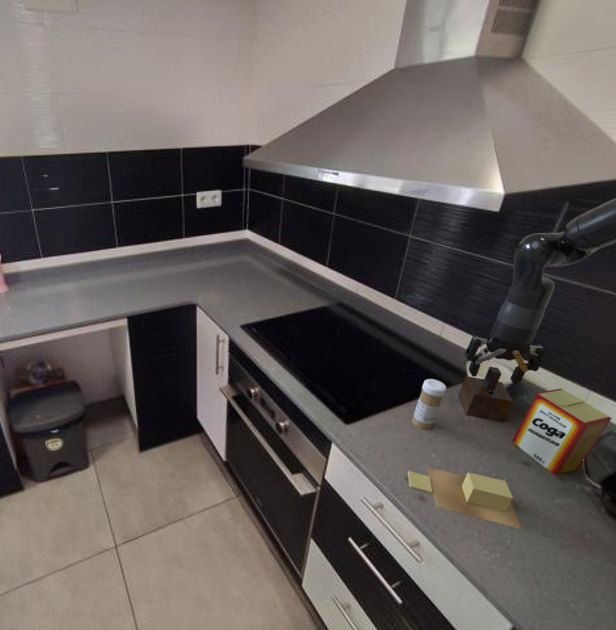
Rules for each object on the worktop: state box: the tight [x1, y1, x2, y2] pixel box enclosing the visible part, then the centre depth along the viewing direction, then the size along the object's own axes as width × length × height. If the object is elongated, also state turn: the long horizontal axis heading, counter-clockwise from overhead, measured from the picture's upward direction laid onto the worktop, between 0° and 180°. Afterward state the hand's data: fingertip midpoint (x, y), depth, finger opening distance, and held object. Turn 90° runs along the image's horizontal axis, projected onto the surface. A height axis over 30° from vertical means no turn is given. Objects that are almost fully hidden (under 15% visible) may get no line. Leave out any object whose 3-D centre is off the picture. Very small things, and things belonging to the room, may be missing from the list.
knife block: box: [457, 375, 514, 423], centre depth 97 cm, size 8×8×8 cm
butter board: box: [426, 466, 523, 530], centre depth 76 cm, size 14×10×1 cm
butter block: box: [462, 472, 514, 512], centre depth 74 cm, size 6×4×4 cm, turn 71°
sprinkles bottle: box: [411, 378, 447, 431], centre depth 91 cm, size 5×5×13 cm
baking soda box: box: [511, 388, 612, 476], centre depth 81 cm, size 10×6×16 cm
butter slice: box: [407, 470, 433, 494], centre depth 78 cm, size 2×4×4 cm
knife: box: [483, 366, 502, 394], centre depth 95 cm, size 2×4×12 cm, turn 161°
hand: (492, 378), depth 94 cm, fingers open, 8 cm apart
